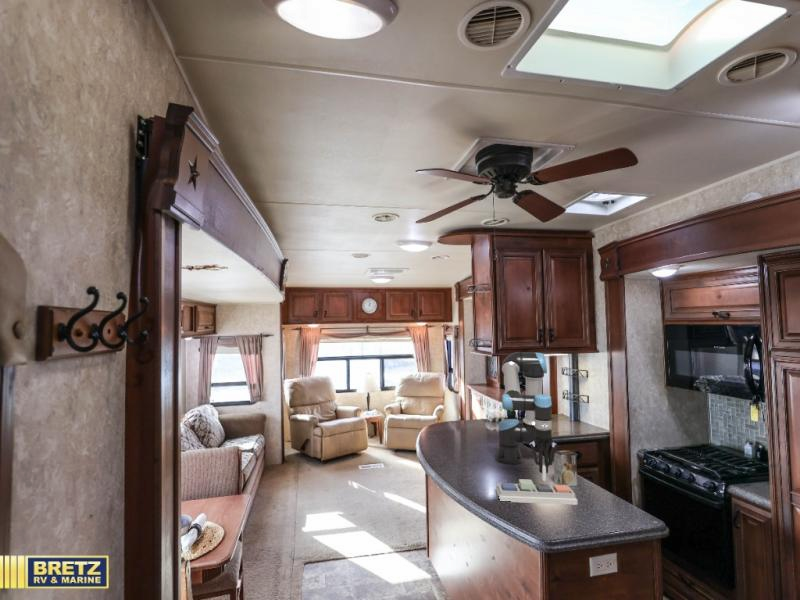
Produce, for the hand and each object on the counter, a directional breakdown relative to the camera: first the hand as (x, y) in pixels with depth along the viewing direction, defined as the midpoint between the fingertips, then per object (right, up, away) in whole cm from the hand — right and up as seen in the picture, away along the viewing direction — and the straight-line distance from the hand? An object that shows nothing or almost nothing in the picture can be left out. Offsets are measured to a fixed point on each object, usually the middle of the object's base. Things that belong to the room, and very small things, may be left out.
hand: (543, 479), depth 199 cm
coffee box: (+16, -9, +16) cm, 24 cm away
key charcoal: (0, -5, -1) cm, 5 cm away
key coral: (+8, -5, -1) cm, 10 cm away
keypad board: (-4, -8, 0) cm, 9 cm away
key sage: (-8, -3, 0) cm, 9 cm away
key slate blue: (-16, -5, +1) cm, 17 cm away
